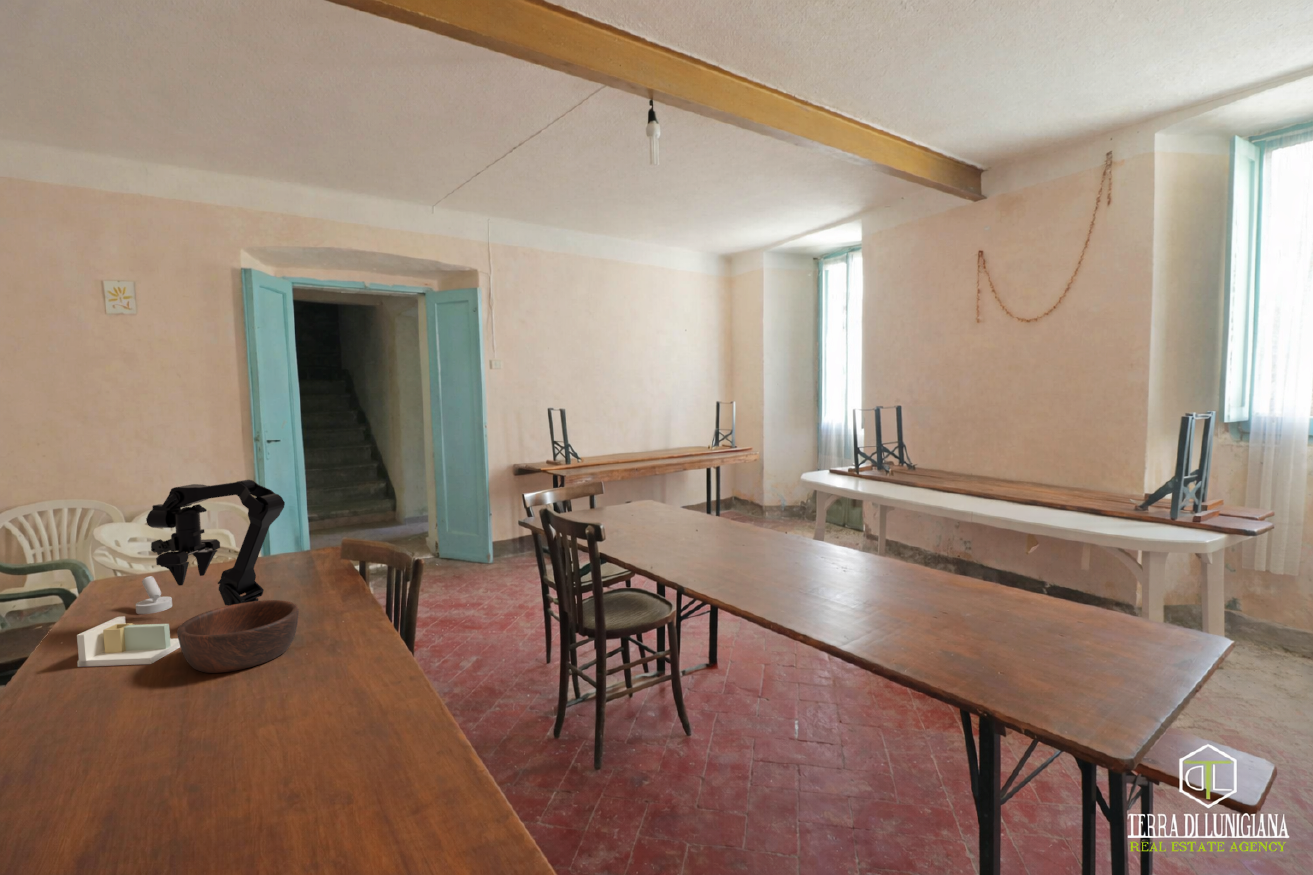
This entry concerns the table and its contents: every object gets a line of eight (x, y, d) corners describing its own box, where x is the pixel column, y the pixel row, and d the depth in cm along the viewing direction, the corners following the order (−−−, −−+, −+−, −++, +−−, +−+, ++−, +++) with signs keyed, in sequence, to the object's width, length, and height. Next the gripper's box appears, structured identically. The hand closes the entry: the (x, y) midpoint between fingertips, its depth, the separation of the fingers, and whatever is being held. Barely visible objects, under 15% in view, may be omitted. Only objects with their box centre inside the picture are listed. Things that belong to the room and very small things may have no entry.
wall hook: (164, 572, 189) (173, 578, 183) (166, 601, 190) (175, 607, 184) (129, 579, 183) (137, 585, 177) (131, 609, 183) (140, 616, 177)
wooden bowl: (240, 683, 134) (237, 640, 134) (152, 674, 139) (149, 632, 139) (322, 639, 159) (320, 602, 158) (245, 632, 164) (243, 596, 163)
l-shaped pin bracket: (186, 643, 157) (184, 614, 156) (150, 663, 145) (148, 632, 144) (119, 645, 156) (117, 616, 155) (77, 666, 144) (75, 635, 143)
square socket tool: (174, 644, 153) (172, 621, 152) (162, 650, 149) (160, 627, 148) (118, 646, 152) (116, 623, 151) (105, 653, 148) (103, 629, 147)
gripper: (180, 522, 180) (184, 571, 181) (133, 536, 161) (137, 592, 162) (219, 520, 181) (222, 570, 182) (177, 535, 162) (180, 590, 164)
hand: (191, 580), depth 173 cm, fingers open, 9 cm apart
